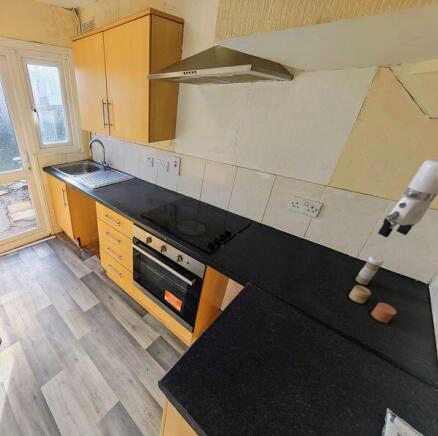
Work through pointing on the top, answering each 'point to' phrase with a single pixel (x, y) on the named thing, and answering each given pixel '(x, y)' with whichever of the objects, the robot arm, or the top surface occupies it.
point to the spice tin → (359, 294)
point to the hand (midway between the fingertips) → (391, 234)
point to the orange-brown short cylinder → (383, 312)
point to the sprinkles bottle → (369, 270)
